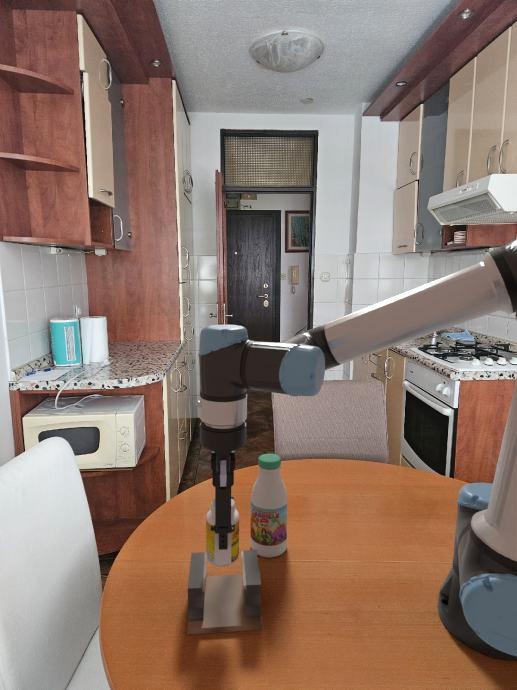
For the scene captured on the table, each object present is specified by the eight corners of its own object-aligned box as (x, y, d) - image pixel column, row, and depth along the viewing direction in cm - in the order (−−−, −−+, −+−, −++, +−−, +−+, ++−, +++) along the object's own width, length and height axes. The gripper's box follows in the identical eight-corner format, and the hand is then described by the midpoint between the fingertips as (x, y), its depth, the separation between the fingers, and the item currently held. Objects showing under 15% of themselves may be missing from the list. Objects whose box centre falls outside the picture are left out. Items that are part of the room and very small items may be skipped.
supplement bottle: (220, 573, 70) (220, 515, 68) (199, 557, 74) (199, 502, 72) (245, 558, 74) (246, 502, 72) (224, 543, 78) (224, 490, 76)
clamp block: (256, 578, 82) (256, 544, 81) (262, 629, 70) (262, 591, 69) (192, 581, 81) (191, 547, 80) (187, 634, 69) (186, 595, 68)
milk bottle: (251, 535, 95) (251, 449, 92) (286, 536, 95) (288, 450, 92) (249, 558, 88) (249, 465, 84) (287, 559, 87) (289, 466, 84)
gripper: (202, 403, 79) (203, 520, 83) (196, 444, 61) (197, 591, 64) (243, 403, 79) (242, 519, 83) (249, 443, 61) (248, 589, 65)
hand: (222, 550), depth 74 cm, fingers closed on supplement bottle, 6 cm apart
